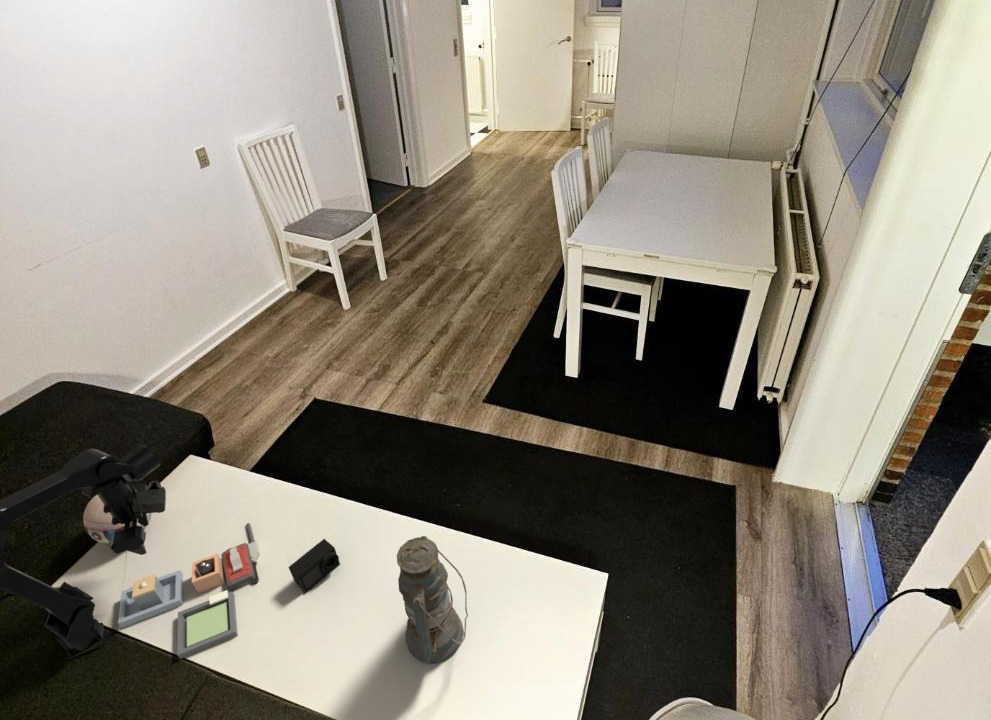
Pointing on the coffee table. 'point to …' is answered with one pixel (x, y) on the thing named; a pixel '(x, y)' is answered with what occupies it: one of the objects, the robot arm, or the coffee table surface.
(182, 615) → the checker frame
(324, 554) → the digital camera
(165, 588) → the tray
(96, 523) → the ornament
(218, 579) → the cup
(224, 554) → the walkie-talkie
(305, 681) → the coffee table surface
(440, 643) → the lantern
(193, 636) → the light green square plate
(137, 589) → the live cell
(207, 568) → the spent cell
